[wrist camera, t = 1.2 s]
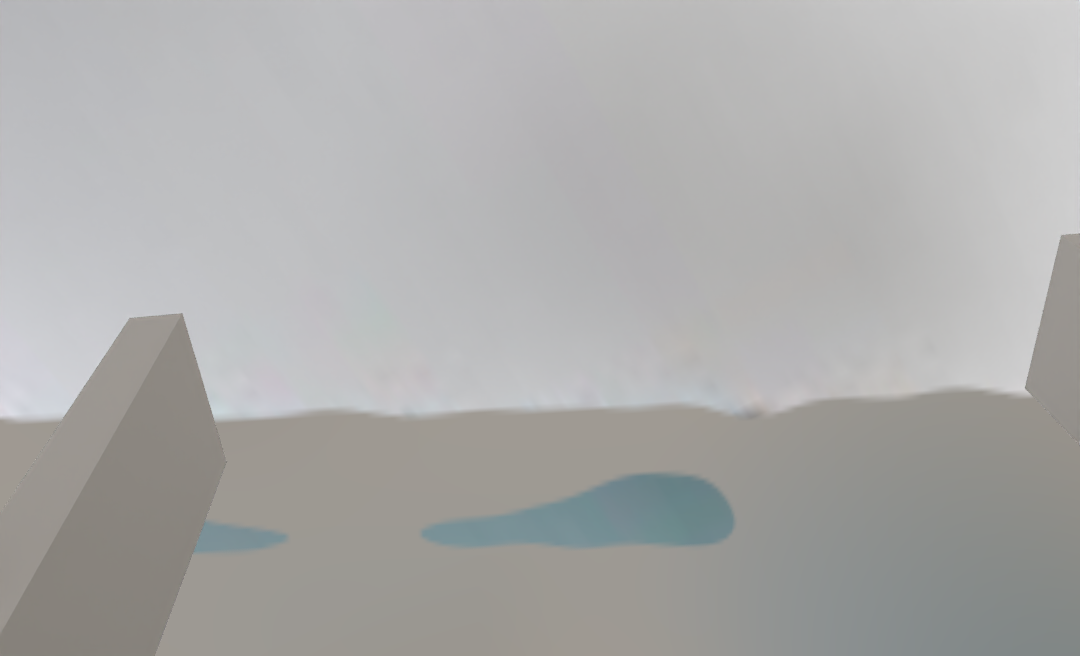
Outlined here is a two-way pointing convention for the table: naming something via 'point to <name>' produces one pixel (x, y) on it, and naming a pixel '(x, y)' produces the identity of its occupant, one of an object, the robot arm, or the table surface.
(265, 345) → the table surface
